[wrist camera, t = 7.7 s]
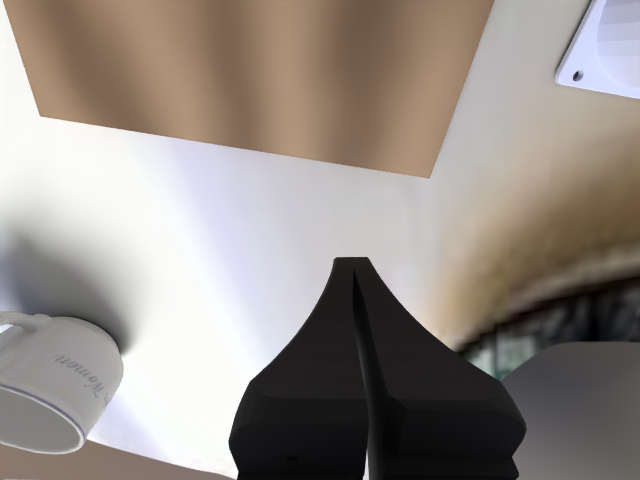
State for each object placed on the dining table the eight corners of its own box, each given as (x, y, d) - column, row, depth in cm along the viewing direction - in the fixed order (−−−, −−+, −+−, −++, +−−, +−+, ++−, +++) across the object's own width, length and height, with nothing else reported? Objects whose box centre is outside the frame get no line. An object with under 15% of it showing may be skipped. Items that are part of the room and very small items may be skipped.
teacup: (140, 380, 33) (91, 466, 26) (34, 362, 31) (-48, 447, 25) (133, 287, 26) (63, 372, 19) (-6, 258, 24) (-136, 337, 17)
